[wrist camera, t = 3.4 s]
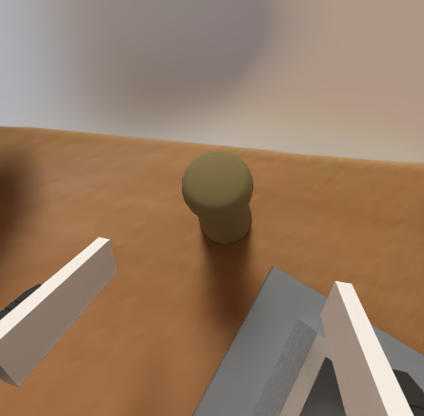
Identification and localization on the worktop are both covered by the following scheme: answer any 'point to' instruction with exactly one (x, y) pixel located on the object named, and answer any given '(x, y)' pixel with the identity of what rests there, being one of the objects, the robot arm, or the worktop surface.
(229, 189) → the cork
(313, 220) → the worktop surface
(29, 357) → the robot arm
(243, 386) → the base plate
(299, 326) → the metal collar
